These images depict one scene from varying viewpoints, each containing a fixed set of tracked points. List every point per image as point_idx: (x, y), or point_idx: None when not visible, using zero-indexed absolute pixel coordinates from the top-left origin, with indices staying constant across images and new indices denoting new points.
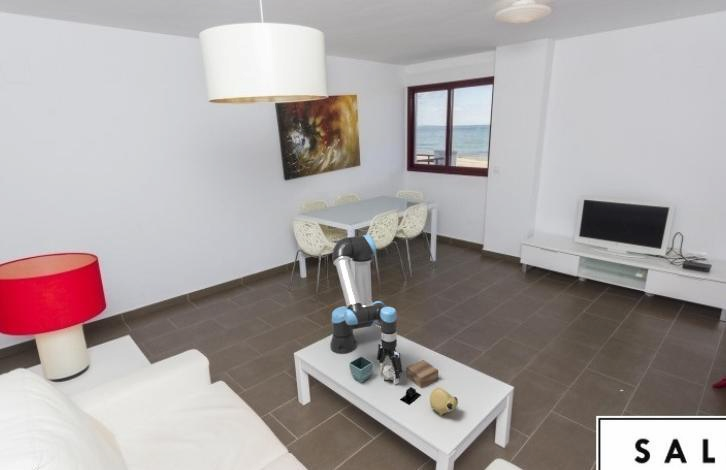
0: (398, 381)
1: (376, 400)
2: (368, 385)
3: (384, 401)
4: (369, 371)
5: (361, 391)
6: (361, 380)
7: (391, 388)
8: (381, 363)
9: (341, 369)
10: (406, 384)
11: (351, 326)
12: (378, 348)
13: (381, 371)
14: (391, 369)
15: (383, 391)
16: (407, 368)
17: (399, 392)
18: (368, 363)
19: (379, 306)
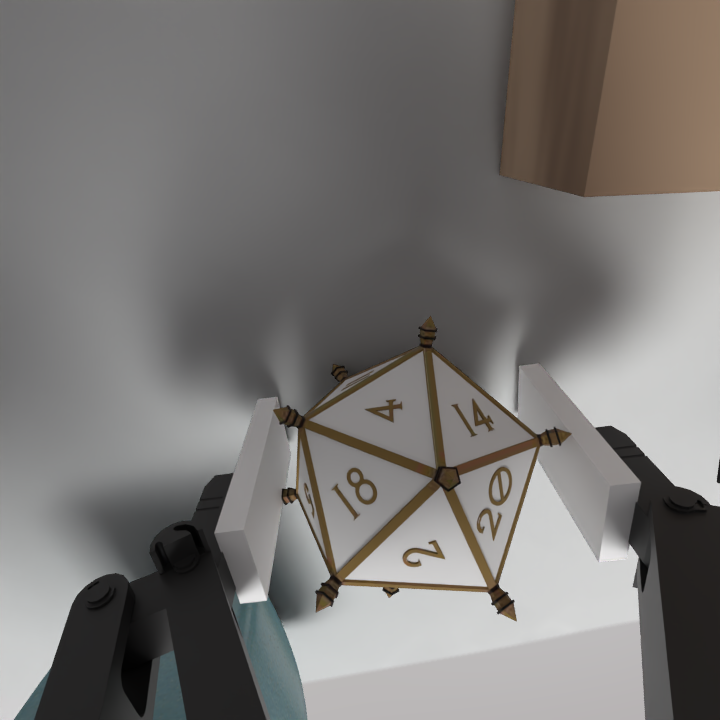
0: (546, 377)
1: (560, 618)
2: (352, 593)
3: (620, 582)
4: (268, 662)
5: (388, 654)
6: (296, 664)
7: (536, 461)
8: (248, 590)
9: (4, 666)
10: (616, 285)
11: None
12: None
13: (290, 499)
14: (492, 536)
15: (514, 536)
16: (604, 194)
17: (646, 430)
18: (158, 715)
19: None
